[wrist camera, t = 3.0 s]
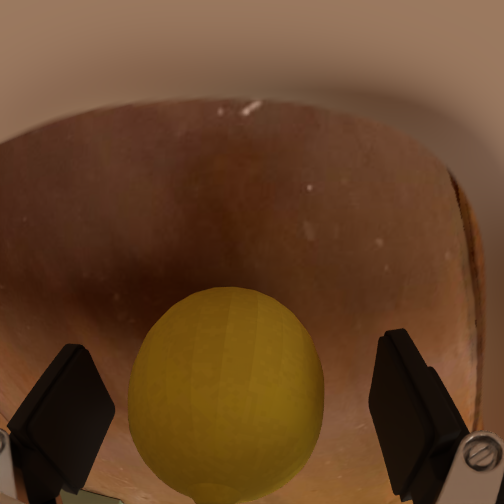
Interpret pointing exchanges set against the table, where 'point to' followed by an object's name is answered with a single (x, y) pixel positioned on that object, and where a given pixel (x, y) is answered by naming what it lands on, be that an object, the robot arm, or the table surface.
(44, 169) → the table surface
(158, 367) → the lemon
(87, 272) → the table surface
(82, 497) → the scale
